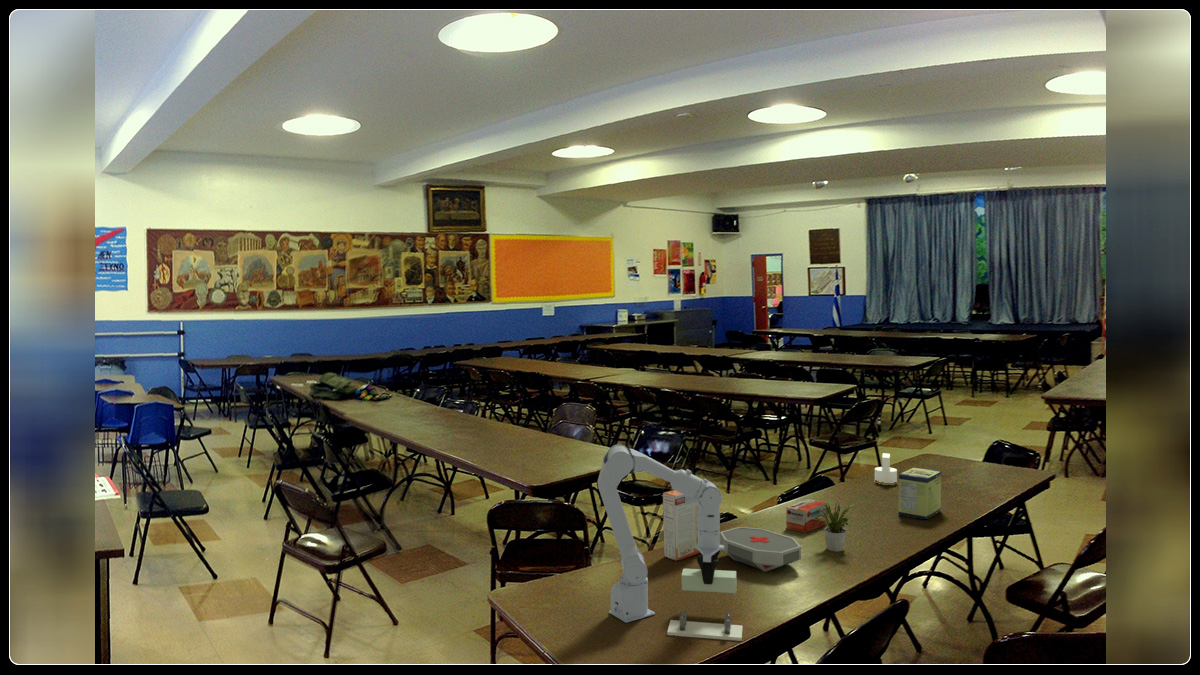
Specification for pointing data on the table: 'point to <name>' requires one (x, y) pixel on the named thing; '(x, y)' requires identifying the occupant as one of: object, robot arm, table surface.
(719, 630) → the peg stand
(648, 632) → the table surface
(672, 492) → the cracker box
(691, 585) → the pale green block
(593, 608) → the table surface
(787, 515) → the medicine box
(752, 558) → the first aid kit
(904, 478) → the protein box
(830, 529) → the house plant
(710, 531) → the robot arm
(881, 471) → the cylinder with rectangular tab
